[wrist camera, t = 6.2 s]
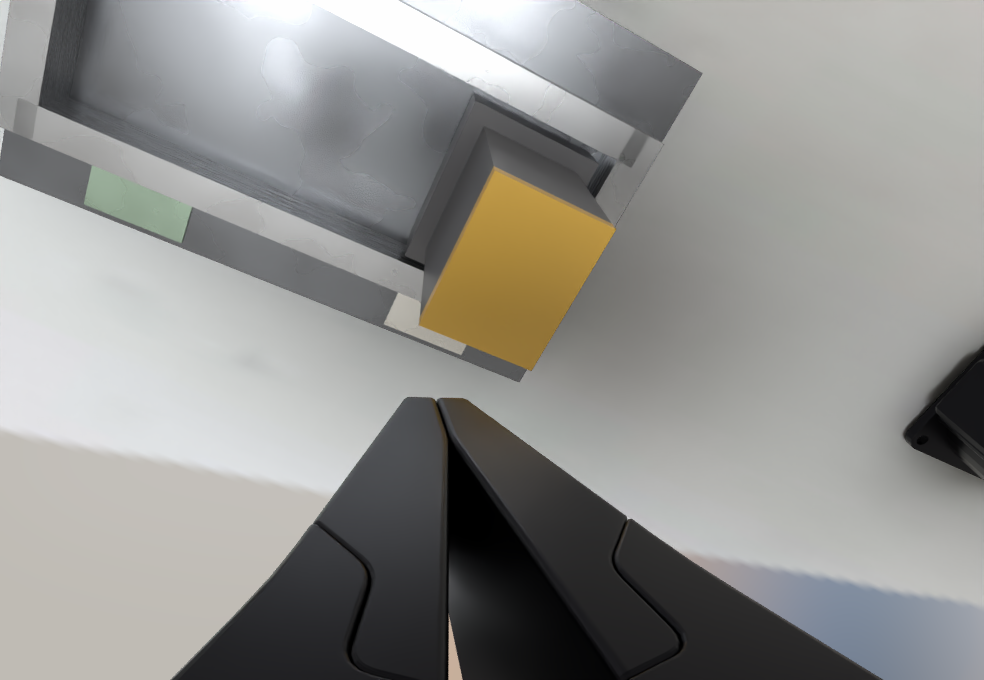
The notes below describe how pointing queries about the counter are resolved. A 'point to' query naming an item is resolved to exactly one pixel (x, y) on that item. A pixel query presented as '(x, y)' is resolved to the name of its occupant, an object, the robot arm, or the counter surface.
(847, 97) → the counter surface
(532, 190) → the breaker handle
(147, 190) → the grey shallow rectangular piece
